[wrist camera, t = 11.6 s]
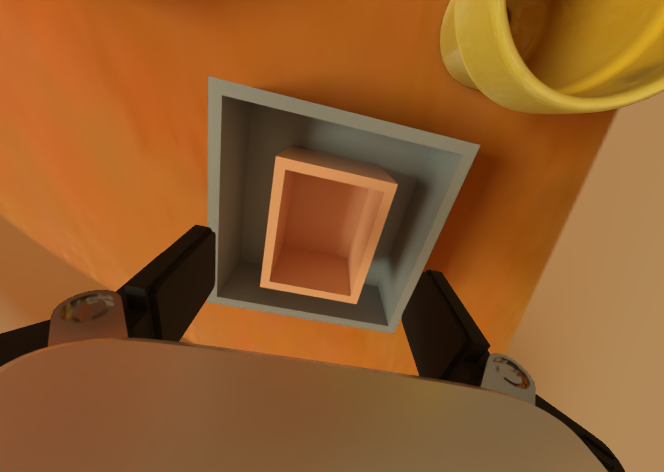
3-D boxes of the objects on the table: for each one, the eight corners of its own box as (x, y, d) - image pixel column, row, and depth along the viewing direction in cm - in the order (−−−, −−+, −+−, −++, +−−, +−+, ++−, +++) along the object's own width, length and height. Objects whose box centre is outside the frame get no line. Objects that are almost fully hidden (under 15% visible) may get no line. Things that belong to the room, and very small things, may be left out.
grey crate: (245, 88, 18) (208, 76, 12) (439, 137, 19) (480, 145, 14) (235, 261, 24) (207, 302, 19) (380, 288, 26) (393, 333, 20)
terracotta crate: (292, 144, 19) (275, 156, 13) (379, 165, 19) (398, 184, 14) (277, 246, 23) (259, 286, 17) (351, 260, 23) (356, 304, 18)
